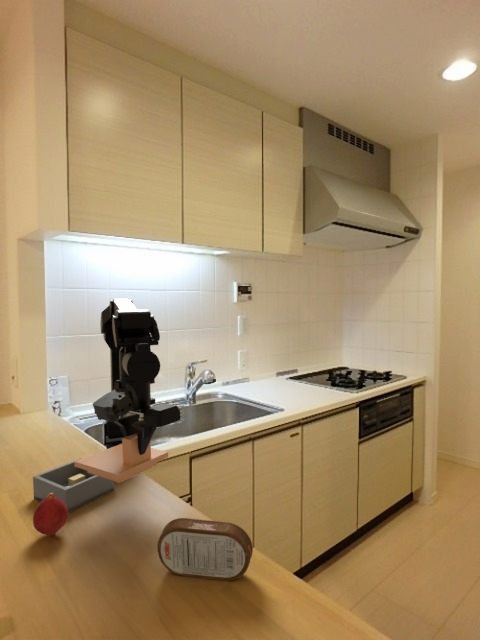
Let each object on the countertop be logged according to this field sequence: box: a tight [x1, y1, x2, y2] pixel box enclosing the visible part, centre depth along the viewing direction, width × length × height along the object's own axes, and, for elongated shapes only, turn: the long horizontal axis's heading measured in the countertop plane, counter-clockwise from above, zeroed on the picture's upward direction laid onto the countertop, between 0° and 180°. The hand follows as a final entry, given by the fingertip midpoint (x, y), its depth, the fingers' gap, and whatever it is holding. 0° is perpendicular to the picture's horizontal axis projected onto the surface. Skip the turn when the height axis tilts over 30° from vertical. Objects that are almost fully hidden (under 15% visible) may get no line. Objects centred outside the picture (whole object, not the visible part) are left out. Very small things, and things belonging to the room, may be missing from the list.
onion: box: [32, 493, 69, 537], centre depth 74 cm, size 6×6×8 cm
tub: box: [32, 457, 115, 514], centre depth 90 cm, size 12×12×5 cm
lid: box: [73, 433, 169, 484], centre depth 82 cm, size 13×13×8 cm
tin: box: [156, 517, 254, 582], centre depth 63 cm, size 15×3×8 cm, turn 80°
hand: (137, 453), depth 79 cm, fingers closed on lid, 2 cm apart
